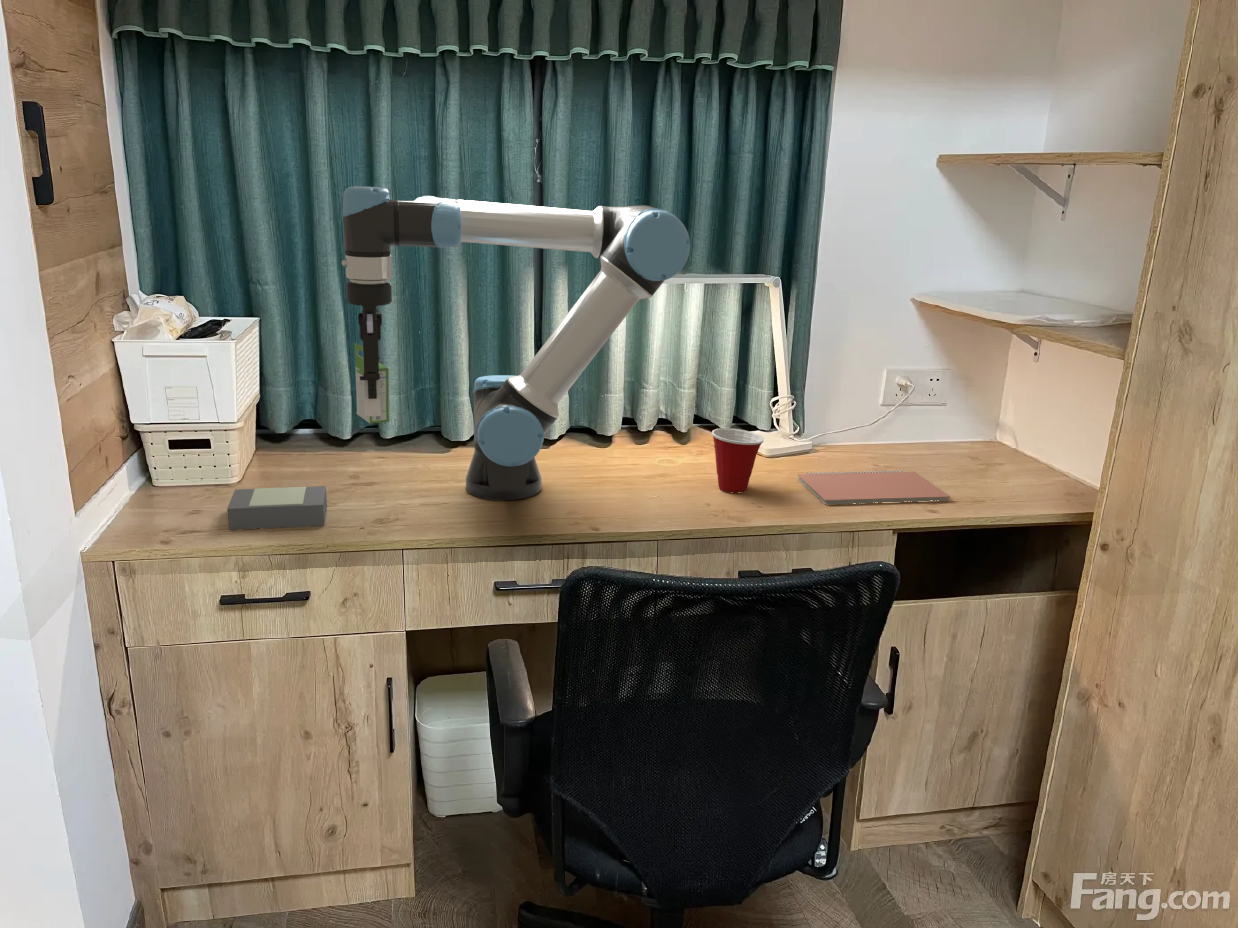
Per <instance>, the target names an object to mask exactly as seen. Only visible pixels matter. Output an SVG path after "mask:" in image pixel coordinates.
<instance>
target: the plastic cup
mask: <svg viewBox="0 0 1238 928" xmlns="http://www.w3.org/2000/svg"><path fill="white" fill-rule="evenodd" d="M711 436H712V437H713V443H714V444H713V446H714V453H715V465H716V467H715V468H716V474H717V484H718V489H719V490H720V491H722V490H723V491H722V492H724V491H726V492H725V493H727V492H733V493H732V494H739V493H738V492H743V493H745V492H747V489H748V486H749V482H750V478H751V476H752V474H753V469H754V466H755V461H756V458H757V454H758V453H759V450H760V448H761V447H762V446H761V445H762V444H763V443H764V442H765V437H763V436H762V435H761V434H758V433H755V432H753V431H749V430H745V429H738V428H725V427H724V428H716V429H713V430H712V431H711ZM744 491H745V492H744Z"/></svg>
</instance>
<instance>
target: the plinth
mask: <svg viewBox="0 0 1238 928" xmlns="http://www.w3.org/2000/svg"><path fill="white" fill-rule="evenodd" d="M226 510H227V511H226V513H227V521H228V523H227V524H228V530H229V531H235V530H236V531H239V529H243V530H254V529H253V528H264V529H280V528H281V527H282V529H283V527H286V528H300V527H301V528H303V527H304V528H306V527H320V526H321V527H324V526H325V525H326V524H325V523H326V517H327V510H328V500H327V486H326V485H319V486H318V485H317V486H289V487H288V486H287V487H267V488H266V487H260V488H259V487H258V488H241V489H240V488H237V489H234V492H233V494H232V496H231V499H230V500H229V504H228V506H227V508H226ZM237 529H238V530H237Z"/></svg>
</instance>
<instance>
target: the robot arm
mask: <svg viewBox="0 0 1238 928" xmlns="http://www.w3.org/2000/svg"><path fill="white" fill-rule="evenodd" d="M342 198H343V202H342V204H343V205H342V206H343V207H342V208H343V210H342V211H343V212H342V220H343V222H342V223H343V237H344V240H343V241H344V254H345V259H343V260H341V265H342V266H343V267H346V268H345V276H346V277H345V278H347V279H349V280H348V281H347V282H346V283H345V285H346V287H345V288H346V302H347V303H348V304H350V305H352V306H361V307H362V312H358V315H357V320H358V321H357V322H358V326H359V334H360V335H359V339H360V340H361V341H362V346H363V351H362V353H363V358H364V374H363V376H360V380H364V400H365V416H381V396H380V379H379V378H380V374H379V363H380V364H382V365H384V361H380V360H381V359H380V355H379V342H380V341H381V339H382V336H381V335H382V332H381V331H382V330H381V329H382V328H381V327H382V325H383V322H382V321H383V319H382V315H383V313H382V312H379V309H378V308H377V307H378V306H387V305H390V304H391V303H392V301H393V298H392V297H393V296H392V295H393V294H392V292H393V291H392V283H391V282H390V281H389V280H391V278H392V255H391V246H395V247H401V246H402V247H403V246H407V247H421V248H425V247H426V248H439V249H444V248H457V247H458V246H460V245H461V243H471V244H472V243H474V244H483V245H484V244H485V245H498V246H509V247H521V248H533V249H535V248H536V249H545V250H546V249H547V250H558V251H559V250H560V251H569V252H582V253H585V252H587V253H590V254H591V255H592V256H593V258H595V259H599V260H600V266H601V267H600V271H598V273H597V274H596V276H595V277H594V278H593V279H592V281H591V282H590V284H589V285H588V286H587V288H586V289H585V290H584V291H583V293H582V294H581V295H580V297H579V298H578V299H577V301H576V302H575V303H574V304H573V306H572V307H571V308H570V310H569V311H568V312H567V313H566V314H565V316H564V317H563V319H562V320H561V322H560V323H559V324H558V325H557V327H556V328H555V329H554V330H553V332H552V333H551V334H550V335H549V337H548V338H547V339H546V341H545V342H544V344H543V345H542V346H541V347H540V349H539V350H538V352H537V353H536V354H535V356H534V357H533V358H532V360H531V361H530V362H529V363H528V365H527V366H526V367H525V369H524V370H523V371H522V373H520V374H519V375H511V374H510V375H507V374H505V375H504V374H503V375H502V374H501V375H500V374H499V375H484V376H480V377H478V378H476V379H475V381H474V383H473V390H472V393H473V400H474V401H473V403H474V404H473V407H474V408H473V410H474V411H473V414H474V417H473V418H474V419H473V424H474V427H473V428H474V429H473V431H474V432H473V433H474V435H473V436H474V438H473V439H474V440H473V441H474V453H473V455H472V458H471V460H470V464H469V467H468V471H467V473H466V476H465V489H466V491H467V492H468V494H470V495H473V496H474V497H477V498H481V499H484V500H485V499H486V500H490V501H491V500H494V501H514V500H523V499H526V498H531V497H533V496H535V495H537V494H539V492H540V491H541V490H542V475H541V472H540V469H539V466H538V464H537V463H538V462H537V459H536V457H537V455H538V454H539V453H540V451H541V449H542V446H543V443H544V441H545V440H544V439H545V434H546V433H547V432H548V431H549V429H550V428H552V426H553V424H554V423H555V422H556V421H557V419H558V418H559V416H560V412H559V403H560V402H561V401H562V400H563V398H564V397H565V396H566V395H567V393H568V391H569V390H570V389H571V387H572V386H573V385H574V384H575V383H576V382H577V380H578V379H579V377H580V376H581V375H582V373H583V372H584V370H586V369H587V367H588V366H589V364H590V363H591V361H593V359H594V358H595V357H596V356H597V354H598V352H599V351H600V350H601V349H602V348H603V346H604V345H605V344H606V342H607V341H608V340H609V339H610V338H611V336H612V335H613V333H614V332H615V331H616V329H618V327H619V326H620V324H622V322H623V320H624V319H625V318H626V317H627V316H628V315H629V313H630V312H631V310H632V309H633V308H634V306H635V305H636V304H637V303H638V301H639V300H643V299H650V298H652V297H653V296H654V294H656V292H657V291H658V289H660V287H661V286H662V285H663V283H664V282H665V281H667V280H669V279H671V278H673V277H675V276H676V275H678V274H679V273H680V271H682V269H683V268H684V267H685V265H686V264H687V261H688V259H689V256H690V251H691V241H690V240H691V239H690V235H689V232H688V230H687V228H686V226H685V224H684V223H683V222H682V221H681V220H680V219H679V218H678V217H677V215H675V214H673V213H672V212H670V211H669V210H667V209H663V208H660V207H659V208H656V207H655V206H652V205H632V206H631V205H628V206H603V205H598V206H597V207H596V208H595V209H594V210H586V209H585V210H583V209H572V208H562V207H550V206H538V205H537V206H536V205H527V204H514V203H505V202H504V203H503V202H502V203H501V202H490V201H481V200H480V201H479V200H468V199H466V200H464V199H454V198H453V199H452V198H443V197H436V196H433V195H422V196H419V197H416V198H415V199H414V200H398V199H397V200H395V199H391V196H390V193H389V190H388V189H387V188H385V187H380V186H379V187H378V186H362V185H361V186H359V185H358V186H357V185H356V186H349V187H347V188H346V189H345V190H344V191H343V197H342ZM368 371H375V372H368Z"/></svg>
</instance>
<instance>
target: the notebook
mask: <svg viewBox="0 0 1238 928" xmlns="http://www.w3.org/2000/svg"><path fill="white" fill-rule="evenodd" d="M797 477H798V481H799V482H800V483H802V485H803V486H804V487H806V488H807V487H808V488H807V489H808V490H809V491H810V490H811V491H812V492H813V493H814V494H815V495H814V496H816V498H818V497H819V498H820V499H821V500H822V501H823V502H824V503H825V504H826V505H825V504H824V503H823V502H822V501H821V500H820V499H819V498H818V499H819V500H820V501H821V502H822V503H823V504H824V505H825V506H830V505H829V504H853V503H856V504H855V505H862V504H861V503H873V502H874V503H875V502H878V503H882V502H904V501H907V502H908V501H910V502H911V501H912V502H918V501H930V500H933V501H935V500H936V501H937V500H939V501H947V502H948V498H951V496H950V495H949V494H948V493H947V492H944V491H943V490H942V489H940V488H939V487H938V486H936V485H935V484H934V483H931V481H929V480H927V479H926V478H924V477H923V476H922V475H920V474H919V473H917V472H916V471H905V470H904V469H903V470H881V471H880V470H878V471H877V470H875V471H873V470H872V471H870V470H869V471H867V470H866V471H864V470H863V471H861V470H860V471H838V472H837V471H835V472H834V471H832V472H831V471H829V472H828V471H826V472H825V471H824V472H823V471H822V472H821V471H820V472H806V473H805V474H800V473H797ZM811 491H810V492H811ZM812 492H811V493H812ZM813 493H812V494H813ZM859 503H860V504H859ZM827 504H828V505H827Z"/></svg>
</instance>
